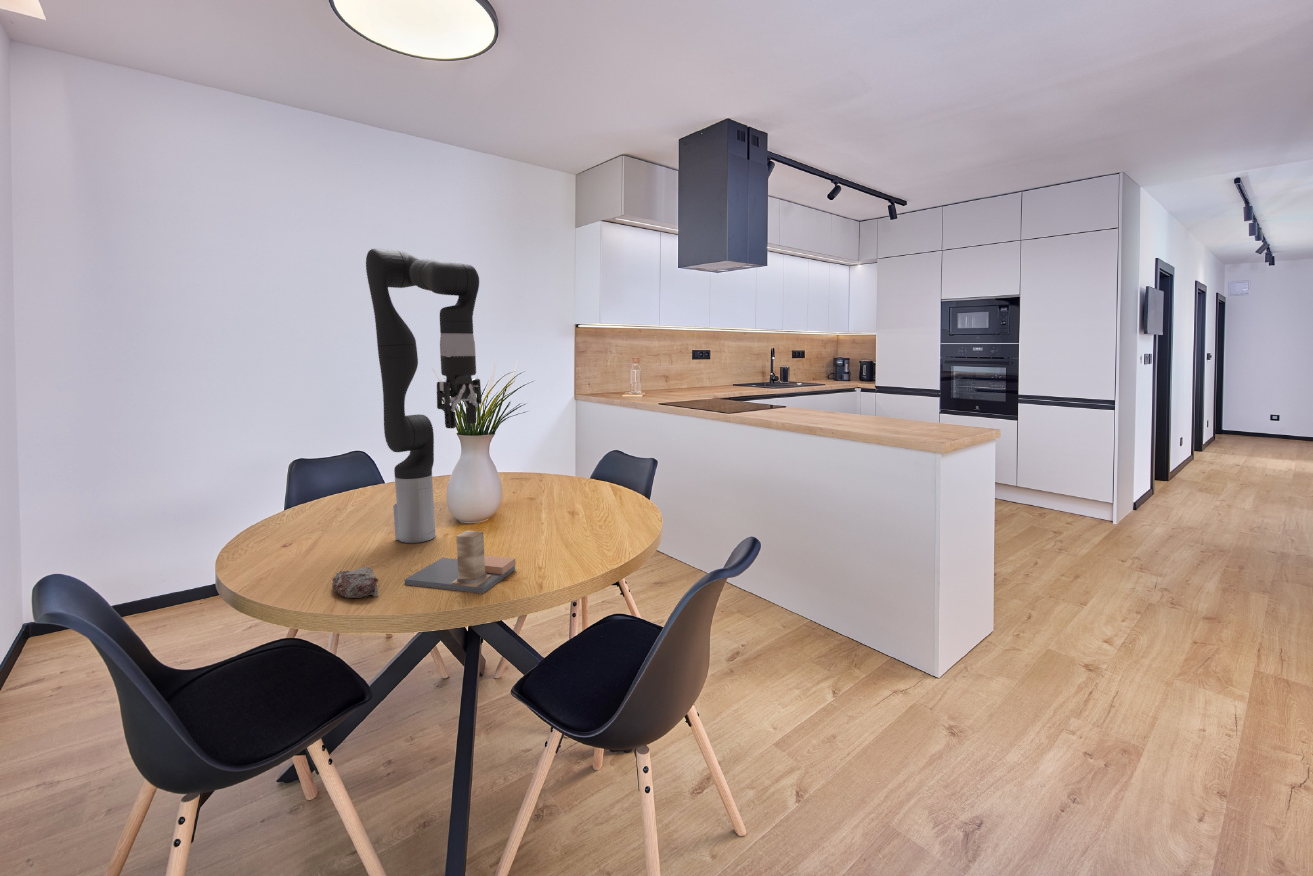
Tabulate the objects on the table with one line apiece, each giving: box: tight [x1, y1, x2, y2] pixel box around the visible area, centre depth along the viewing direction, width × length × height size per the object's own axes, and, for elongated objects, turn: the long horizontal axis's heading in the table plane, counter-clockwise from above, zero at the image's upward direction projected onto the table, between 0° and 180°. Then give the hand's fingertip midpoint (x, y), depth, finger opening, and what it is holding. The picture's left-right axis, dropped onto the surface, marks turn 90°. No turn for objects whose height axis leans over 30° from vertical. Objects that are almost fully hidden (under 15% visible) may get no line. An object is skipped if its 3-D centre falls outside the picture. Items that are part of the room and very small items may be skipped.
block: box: [455, 529, 487, 583], centre depth 128 cm, size 4×4×10 cm
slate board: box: [403, 557, 516, 594], centre depth 134 cm, size 19×14×1 cm
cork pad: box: [451, 574, 491, 587], centre depth 129 cm, size 6×6×1 cm
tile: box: [484, 554, 516, 574], centre depth 136 cm, size 2×6×8 cm
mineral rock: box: [331, 565, 379, 599], centre depth 126 cm, size 15×8×4 cm, turn 34°
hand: (461, 425), depth 137 cm, fingers open, 8 cm apart
